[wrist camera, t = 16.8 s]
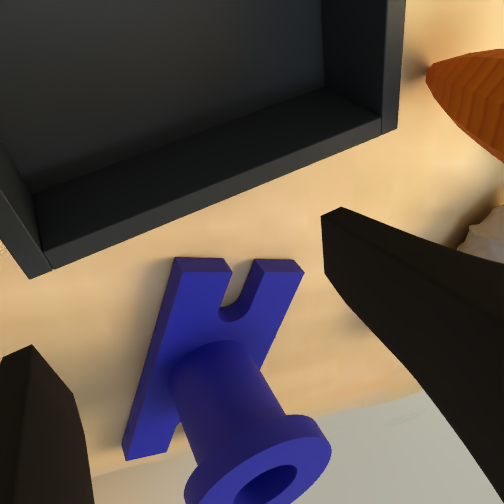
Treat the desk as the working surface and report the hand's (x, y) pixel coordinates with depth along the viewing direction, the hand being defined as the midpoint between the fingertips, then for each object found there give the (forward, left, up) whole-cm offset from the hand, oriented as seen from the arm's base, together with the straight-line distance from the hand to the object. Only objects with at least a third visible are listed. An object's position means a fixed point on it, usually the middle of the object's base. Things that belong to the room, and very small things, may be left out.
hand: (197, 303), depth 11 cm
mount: (0, -15, -10) cm, 18 cm away
